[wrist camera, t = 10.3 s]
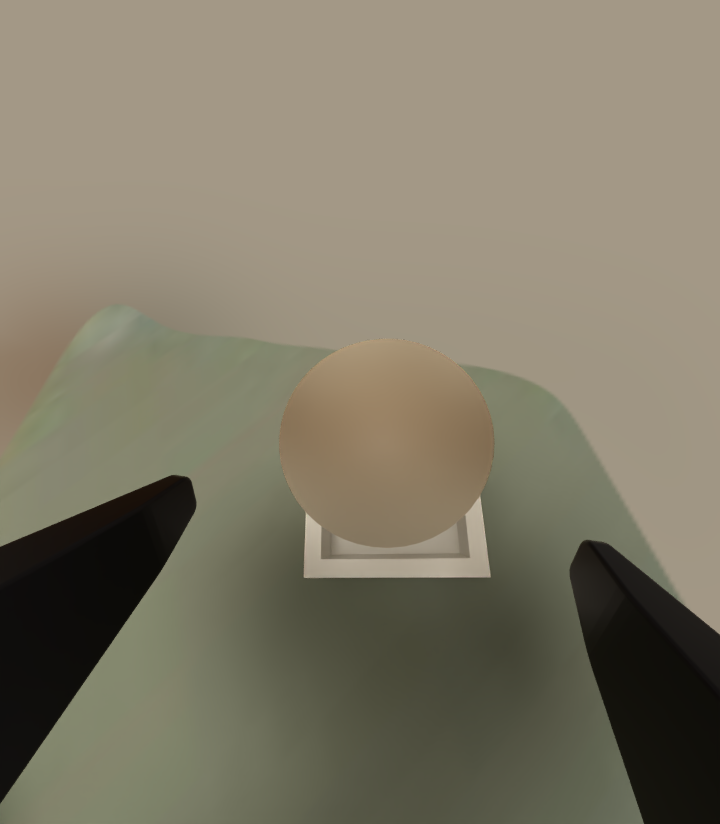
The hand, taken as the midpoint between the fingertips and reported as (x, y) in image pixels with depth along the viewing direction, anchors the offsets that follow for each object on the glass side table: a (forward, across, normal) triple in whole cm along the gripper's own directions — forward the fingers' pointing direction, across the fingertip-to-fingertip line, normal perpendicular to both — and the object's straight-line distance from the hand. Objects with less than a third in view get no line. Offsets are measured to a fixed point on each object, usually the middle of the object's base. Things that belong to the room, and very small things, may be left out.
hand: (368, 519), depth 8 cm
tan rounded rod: (+10, 0, +7) cm, 12 cm away
